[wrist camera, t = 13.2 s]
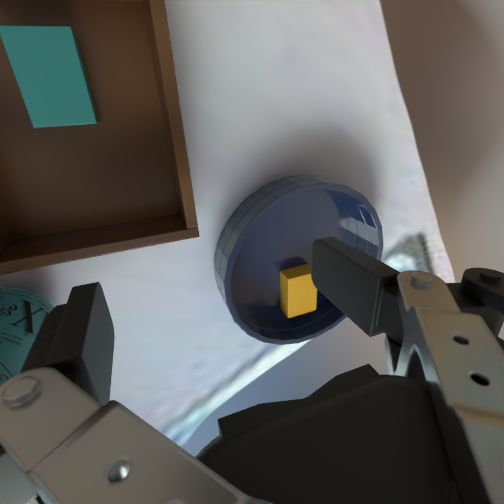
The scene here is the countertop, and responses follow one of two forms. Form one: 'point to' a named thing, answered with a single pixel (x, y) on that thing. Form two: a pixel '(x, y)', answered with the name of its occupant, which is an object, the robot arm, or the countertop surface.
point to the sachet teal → (50, 74)
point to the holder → (96, 143)
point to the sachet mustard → (297, 291)
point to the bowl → (288, 252)
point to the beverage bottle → (19, 327)
